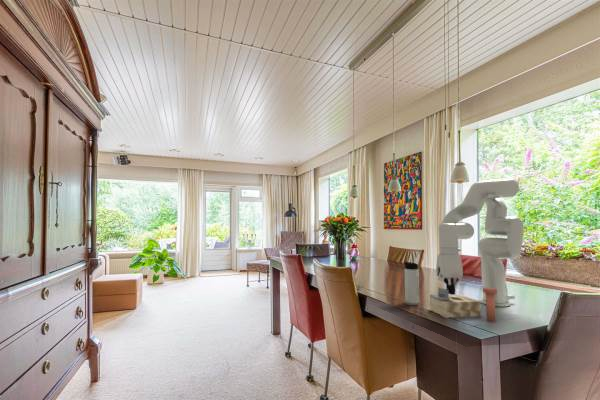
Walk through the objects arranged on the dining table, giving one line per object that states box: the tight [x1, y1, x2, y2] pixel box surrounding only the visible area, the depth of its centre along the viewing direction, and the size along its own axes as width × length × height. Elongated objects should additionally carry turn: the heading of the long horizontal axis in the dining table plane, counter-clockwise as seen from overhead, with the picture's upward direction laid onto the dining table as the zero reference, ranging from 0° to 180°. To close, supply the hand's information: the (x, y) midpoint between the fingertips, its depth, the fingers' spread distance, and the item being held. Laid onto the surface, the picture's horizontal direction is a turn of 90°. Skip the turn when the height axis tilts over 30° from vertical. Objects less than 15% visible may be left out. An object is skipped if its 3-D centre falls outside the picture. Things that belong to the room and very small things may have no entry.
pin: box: [482, 287, 497, 323], centre depth 119 cm, size 5×5×12 cm
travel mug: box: [403, 261, 420, 306], centre depth 143 cm, size 6×7×20 cm
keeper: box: [429, 287, 450, 301], centre depth 128 cm, size 5×6×4 cm
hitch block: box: [429, 294, 482, 319], centre depth 128 cm, size 16×11×6 cm
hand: (451, 293), depth 128 cm, fingers closed
